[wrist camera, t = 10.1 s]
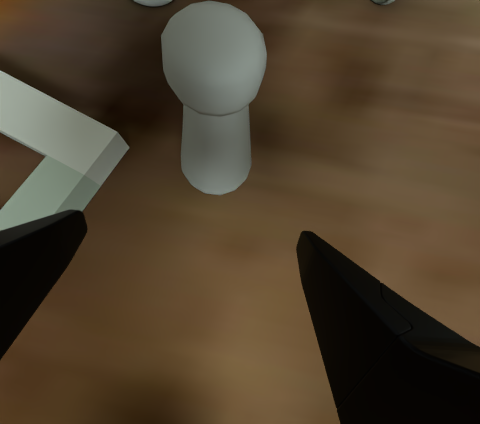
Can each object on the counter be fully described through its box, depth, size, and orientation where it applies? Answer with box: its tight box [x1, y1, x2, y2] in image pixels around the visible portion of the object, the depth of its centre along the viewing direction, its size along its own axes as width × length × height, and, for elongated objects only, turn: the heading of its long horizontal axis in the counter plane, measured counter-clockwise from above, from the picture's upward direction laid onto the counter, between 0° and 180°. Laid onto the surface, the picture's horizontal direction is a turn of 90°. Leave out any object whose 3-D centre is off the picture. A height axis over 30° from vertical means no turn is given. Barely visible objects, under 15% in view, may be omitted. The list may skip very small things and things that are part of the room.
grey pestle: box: [161, 1, 267, 195], centre depth 14 cm, size 6×6×13 cm
